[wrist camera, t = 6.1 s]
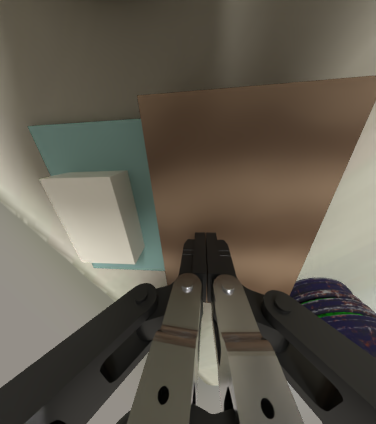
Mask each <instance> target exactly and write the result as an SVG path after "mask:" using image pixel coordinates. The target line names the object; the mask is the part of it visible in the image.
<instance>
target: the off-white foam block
mask: <svg viewBox="0 0 376 424" xmlns="http://www.w3.org/2000/svg"><path fill="white" fill-rule="evenodd" d="M39 180H40V182H41V184H42V186H43V188H44V190H45V192H46V194H47V196H48V198H49V200H50V202H51V204H52V206H53V208H54V210H55V211H56V213H57V215H58V217H59V219H60V221H61V223H62V225H63V227H64V229H65V231H66V233H67V235H68V237H69V239H70V240H71V242H72V244H73V246H74V248H75V250H76V252H77V254H78V256H79V258H80V260H81V262H82V263H111V264H136V262H137V260H138V258H139V256H140V255H141V253H142V251H143V249H144V247H145V245H144V240H143V236H142V232H141V227H140V223H139V218H138V214H137V210H136V205H135V201H134V197H133V192H132V188H131V184H130V179H129V175H128V171H127V170H125V171H96V172H69V173H64V174H59V175H54V176H50V177H45V178H40V179H39Z"/></svg>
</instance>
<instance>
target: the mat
mask: <svg viewBox="0 0 376 424" xmlns="http://www.w3.org/2000/svg"><path fill="white" fill-rule="evenodd" d="M28 129H29V131H30V133H31V135H32V137H33V139H34V141H35V143H36V146H37V148H38V150H39V152H40V154H41V156H42V158H43V160H44V163H45V165H46V167H47V169H48V171H49V173H50V175H51V176H54V175H59V174H64V173H69V172H96V171H125V170H127V171H128V175H129V179H130V184H131V188H132V192H133V197H134V201H135V205H136V210H137V214H138V218H139V223H140V227H141V232H142V236H143V240H144V245H145V247H144V249H143V251H142V253H141V255H140V256H139V258H138V260H137V262H136V264H111V263H92V265H93V267H94V268H108V269H132V270H157V271H165V267H164V261H163V254H162V248H161V242H160V236H159V229H158V223H157V217H156V211H155V204H154V198H153V192H152V186H151V179H150V173H149V167H148V161H147V154H146V148H145V142H144V136H143V129H142V123H141V119H128V120H113V121H98V122H83V123H68V124H53V125H38V126H28Z"/></svg>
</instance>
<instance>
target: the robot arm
mask: <svg viewBox="0 0 376 424" xmlns="http://www.w3.org/2000/svg"><path fill="white" fill-rule="evenodd" d="M206 284H207V302H210V303H211V307H212V326H213V334H214V342H215V350H216V358H217V366H218V381H219V392H220V401H221V408H222V412H220V413H218V414H210V413H208V412H207V411H205V410H203V409H202V408H200V407H198V406H197V390H198V369H199V352H200V336H201V321H202V315H203V302H206ZM148 352H149V353H148ZM147 353H148V356H147V360H146V363H145V366H144V369H143V373H142V376H141V379H140V382H139V386H138V389H137V392H136V396H135V398H134V402H133V405H132V408H131V410H130V411H129V412H128V413H126V414H125V415H124V416H123V417H122V418H121V419H120V420H119V421H118V422H117V423H116V424H304V422H303V419H302V417H301V415H300V412H299V410H298V407H297V405H296V402H295V400H294V398H293V395H292V393H291V390H290V388H289V385H288V383H289V384H290V385H291V386H292V387H293V388H294V390H295V391H296V392H297V393H298V394H299V395H300V397H301V398H302V399H303V400H304V401H305V402H306V404H307V405H308V406H309V407H310V408H311V409H312V410H313V412H314V413H315V414H316V415H317V416H318V418H319V419H320V420H321V421H322V422H323V423H324V424H376V358H374V357H373V356H372V355H370V354H369V353H368V352H366V351H365V350H363V349H362V348H361V347H359V346H358V345H357V344H355V343H354V342H352V341H351V340H350V339H348V338H347V337H346V336H344V335H343V334H341V333H340V332H339V331H337V330H336V329H335V328H333V327H332V326H330V325H329V324H328V323H326V322H325V321H324V320H322V319H321V318H319V317H318V316H317V315H315V314H314V313H313V312H311V311H310V310H308V309H307V308H306V307H304V306H303V305H302V304H300V303H299V302H297V301H296V300H295V299H293V298H292V297H291V296H289V295H288V294H286V293H284V292H281V291H278V290H270V291H268V292H266V293H265V295H264V294H261V293H258V292H255V291H252V290H250V289H248V288H246V287H245V286H243V285H242V284H241V282H240V281H239V280H238V278H237V276H236V273H235V269H234V265H233V261H232V258H231V254H230V250H229V246H228V244H227V243H226V242H225V241H224V240H217V236H216V232H206V245H205V232H195V239H187V241H186V242H185V243H184V247H183V252H182V258H181V264H180V270H179V275H178V277H177V278H176V279H175V281H174V282H173V283H172V284H170V285H168V286H165V287H161V288H158V289H156V288H155V287H154V286H153V285H151V284H149V283H144V284H140V285H138V286H136V287H134V288H133V289H132V290H130V291H129V292H128V293H126V294H125V295H124V296H122V297H121V298H120V299H118V300H117V301H116V302H114V303H113V304H112V305H110V306H109V307H108V308H106V309H105V310H104V311H102V312H101V313H100V314H98V315H97V316H96V317H94V318H93V319H92V320H90V321H89V322H88V323H86V324H85V325H84V326H83V327H81V328H80V329H79V330H77V331H76V332H75V333H73V334H72V335H71V336H69V337H68V338H66V339H65V340H64V341H62V342H61V343H60V344H58V345H57V346H56V347H55V348H53V349H52V350H50V351H49V352H48V353H46V354H45V355H44V356H43V357H41V358H40V359H39V360H37V361H36V362H34V363H33V364H32V365H30V366H29V367H28V368H26V369H25V370H24V371H23V372H21V373H20V374H18V375H17V376H16V377H15V378H13V379H12V380H10V381H9V382H8V383H7V384H5V385H4V386H3V387H1V388H0V424H86V423H87V422H88V421H89V420H90V419H91V418H92V417H93V415H94V414H95V413H96V412H97V411H98V410H99V408H100V407H101V406H102V405H103V404H104V403H105V401H106V400H107V399H108V398H109V397H110V396H111V394H112V393H113V392H114V391H115V390H116V389H117V388H118V386H119V385H120V384H121V383H122V382H123V381H124V380H125V378H126V377H127V376H128V375H129V374H130V373H131V371H132V370H133V369H134V368H135V367H136V366H137V364H138V363H139V362H140V361H141V360H142V359H143V358H144V356H145V355H146V354H147ZM286 380H287V381H288V383H287V381H286Z"/></svg>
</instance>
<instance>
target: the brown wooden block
mask: <svg viewBox="0 0 376 424" xmlns="http://www.w3.org/2000/svg"><path fill="white" fill-rule="evenodd" d="M137 98H138V104H139V111H140V117H141V123H142V129H143V136H144V142H145V148H146V154H147V161H148V167H149V173H150V179H151V186H152V192H153V198H154V204H155V211H156V217H157V223H158V229H159V236H160V242H161V248H162V254H163V261H164V267H165V273H166V279H167V285H170V284H172V283H173V282H174V281H175V279H176V278H177V277H178V275H179V270H180V264H181V258H182V252H183V247H184V243H185V242H186V241H187V239H195V232H205V245H206V232H216V236H217V240H224V241H225V242H226V243H227V244H228V246H229V250H230V254H231V258H232V261H233V265H234V269H235V273H236V276H237V278H238V280H239V281H240V282H241V284H242V285H243V286H245V287H246V288H248V289H250V290H252V291H255V292H258V293H261V294H264V295H265V293H266V292H268V291H270V290H278V291H281V292H284V293H286V294H288V295H289V296H290V293H291V291H292V289H293V287H294V284H295V282H296V280H297V277H298V275H299V273H300V271H301V268H302V266H303V264H304V262H305V259H306V257H307V255H308V253H309V250H310V248H311V246H312V243H313V241H314V239H315V237H316V234H317V232H318V230H319V228H320V225H321V223H322V221H323V219H324V216H325V214H326V212H327V209H328V207H329V205H330V203H331V200H332V198H333V196H334V194H335V191H336V189H337V187H338V185H339V182H340V180H341V178H342V175H343V173H344V171H345V169H346V166H347V164H348V162H349V160H350V157H351V155H352V153H353V151H354V148H355V146H356V144H357V141H358V139H359V137H360V135H361V132H362V130H363V128H364V126H365V123H366V121H367V119H368V117H369V114H370V112H371V110H372V107H373V105H374V103H375V101H376V76H364V77H352V78H340V79H328V80H316V81H304V82H292V83H280V84H268V85H256V86H244V87H232V88H220V89H208V90H196V91H184V92H172V93H160V94H149V95H137ZM205 303H210V302H207V284H206V302H205Z"/></svg>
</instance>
